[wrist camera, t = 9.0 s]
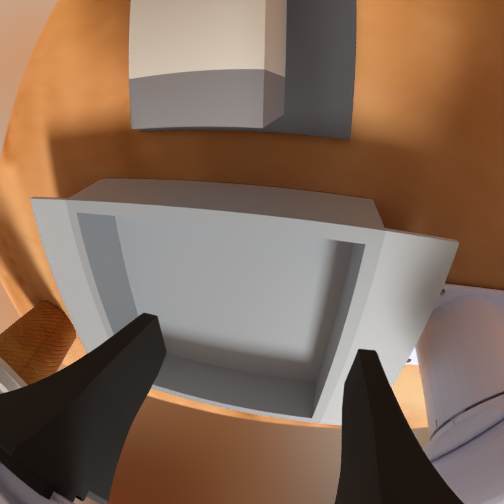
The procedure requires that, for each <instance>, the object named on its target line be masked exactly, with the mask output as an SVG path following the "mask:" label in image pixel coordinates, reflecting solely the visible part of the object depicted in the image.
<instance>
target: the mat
mask: <svg viewBox="0 0 504 504" xmlns="http://www.w3.org/2000/svg"><path fill="white" fill-rule="evenodd" d="M355 59H356V0H287V25H286V66H285V96H284V115H282V116H280V117H279V118H277V119H276V120H274V121H273V122H271V123H270V124H268V125H267V126H265V127H264V128H249V127H163V128H144V129H140V132H143V131H164V130H239V131H261V132H276V133H289V134H300V135H310V136H320V137H328V138H336V139H344V140H350V132H351V122H352V110H353V96H354V80H355Z"/></svg>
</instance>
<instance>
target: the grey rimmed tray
mask: <svg viewBox="0 0 504 504" xmlns="http://www.w3.org/2000/svg"><path fill="white" fill-rule="evenodd" d="M30 201H31V205H32V209H33V213H34V216H35V220H36V224H37V227H38V231H39V234H40V238H41V241H42V244H43V247H44V251H45V254H46V257H47V260H48V263H49V265H50V268H51V271H52V274H53V277H54V279H55V282H56V285H57V287H58V290H59V292H60V295H61V297H62V300H63V302H64V305H65V307H66V309H67V312H68V314H69V316H70V318H71V321H72V323H73V325H74V327H75V329H76V332H77V334H78V336H79V338H80V340H81V342H82V344H83V346H84V348H85V350H86V352H87V354H88V353H89V352H91V351H92V350H94V349H95V348H97V347H98V346H100V345H101V344H102V343H104V342H105V341H106V340H108V339H109V338H110V337H112V336H113V335H114V334H116V333H117V332H118V331H120V330H121V329H122V328H124V327H125V326H126V325H128V324H129V323H130V322H131V321H133V320H134V319H135V318H137V317H138V316H139V315H141V314H142V313H148V314H152V315H156V316H158V320H159V324H160V328H161V332H162V335H163V339H164V343H165V347H166V351H167V353H166V355H165V358H164V361H163V364H162V366H161V369H160V371H159V374H158V376H157V378H156V379H155V381H154V383H153V385H152V387H151V388H152V389H155V390H158V391H162V392H165V393H168V394H172V395H175V396H178V397H182V398H186V399H189V400H193V401H197V402H201V403H205V404H209V405H213V406H217V407H222V408H226V409H231V410H235V411H240V412H245V413H251V414H256V415H262V416H268V417H274V418H280V419H287V420H294V421H302V422H311V423H320V424H331V425H342V402H343V392H344V383H345V380H346V378H347V376H348V373H349V371H350V368H351V366H352V364H353V361H354V359H355V356H356V354H357V351H358V349H367V350H375V351H376V352H377V354H378V356H379V359H380V362H381V364H382V367H383V369H384V372H385V374H386V377H387V379H388V381H389V384H390V386H391V387H392V386H393V384H394V382H395V381H396V379H397V377H398V376H399V374H400V372H401V371H402V369H403V367H404V365H405V364H406V362H407V360H408V358H409V357H410V355H411V353H412V351H413V349H414V347H415V345H416V344H417V342H418V340H419V338H420V336H421V334H422V332H423V330H424V328H425V326H426V324H427V322H428V320H429V317H430V315H431V313H432V311H433V309H434V307H435V304H436V302H437V300H438V298H439V295H440V293H441V291H442V288H443V286H444V283H445V281H446V278H447V276H448V273H449V271H450V268H451V266H452V263H453V260H454V258H455V255H456V252H457V249H458V246H459V241H458V240H455V239H450V238H444V237H438V236H432V235H426V234H420V233H414V232H408V231H401V230H395V229H388V228H384V225H383V222H382V220H381V217H380V215H379V213H378V210H377V208H376V205H375V203H374V200H373V199H367V198H360V197H353V196H346V195H338V194H331V193H323V192H315V191H306V190H298V189H288V188H279V187H268V186H257V185H246V184H233V183H219V182H204V181H186V180H163V179H125V178H103V179H101V180H99V181H97V182H95V183H94V184H92V185H90V186H88V187H86V188H85V189H83V190H81V191H80V192H78V193H76V194H74V195H73V196H71V197H69V198H53V197H32V198H30Z"/></svg>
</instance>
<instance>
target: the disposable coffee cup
mask: <svg viewBox="0 0 504 504" xmlns="http://www.w3.org/2000/svg"><path fill="white" fill-rule="evenodd" d="M75 339H76V333H75V330H74V328H73V326H72V324H71V322H70V321H69V320H68V318H67V317H66V316H65V315H64V314H63V313H62V312H61V311H60V310H59V309H58V308H57V307H55V306H54V305H53V304H51V303H49V302H46V301H42V302H40V303H39V304H38V305H36V306H35V307H34V308H33V309H31V310H30V311H29V312H27V313H26V314H25V315H24V316H22V317H21V318H20V319H19V320H17V321H16V322H15V323H14V324H12V325H11V326H10V327H9V328H8V329H6V330H5V331H4V332H3V333H1V334H0V394H1V393H5V392H9V391H12V390H16V389H19V388H22V387H24V386H27V385H30V384H32V383H35V382H37V381H39V380H41V379H44V378H46V377H48V376H50V375H52V374H54V373H56V372H57V370H58V368H59V367H60V365H61V363H62V361H63V359H64V358H65V356H66V354H67V352H68V350H69V349H70V347H71V345H72V343H73V342H74V340H75Z"/></svg>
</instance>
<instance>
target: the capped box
mask: <svg viewBox="0 0 504 504" xmlns="http://www.w3.org/2000/svg"><path fill="white" fill-rule="evenodd" d="M286 25H287V0H131V4H130V24H129V92H130V114H131V129H144V128H163V127H249V128H264V127H265V126H267V125H268V124H270V123H271V122H273V121H274V120H276V119H277V118H279V117H280V116H282V115H284V96H285V66H286Z"/></svg>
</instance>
